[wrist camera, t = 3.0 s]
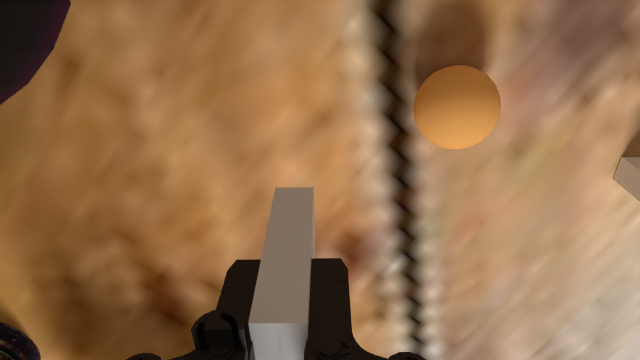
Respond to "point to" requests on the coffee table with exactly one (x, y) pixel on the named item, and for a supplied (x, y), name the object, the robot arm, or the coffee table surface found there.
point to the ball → (457, 107)
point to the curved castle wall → (27, 39)
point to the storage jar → (16, 345)
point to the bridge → (629, 175)
